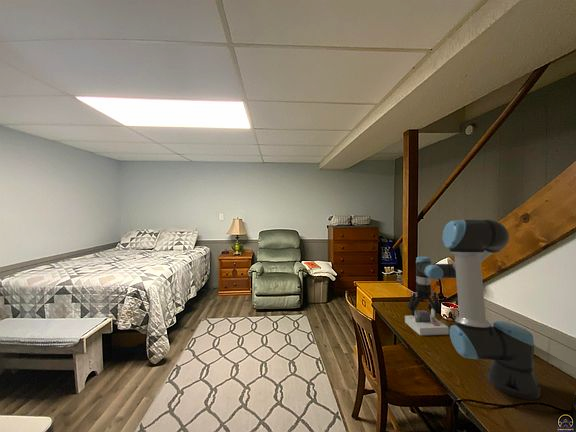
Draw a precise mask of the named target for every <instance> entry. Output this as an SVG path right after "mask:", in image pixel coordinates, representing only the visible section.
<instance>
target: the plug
mask: <svg viewBox="0 0 576 432" xmlns="http://www.w3.org/2000/svg"><path fill="white" fill-rule="evenodd" d="M416 315H417V322H419V323H422V322H430V315H431V312H429V311H427V310H425V309H422V310H421V309H420V310H419V309H417V310H416Z"/></svg>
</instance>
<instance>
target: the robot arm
mask: <svg viewBox="0 0 576 432" xmlns="http://www.w3.org/2000/svg"><path fill="white" fill-rule="evenodd" d="M509 241H510V232H509V231H508V229H507V227H506V226H505V225H504V224H502V223H501V222H499V221H497V220H493V219H456V220H455V219H454V220H450V221H448V223H446V224H445V226H444V228H443V231H442V243H443V245H444V246H445V248H446V249H449V253H450V254H451V255H452V256H453V257H454V261H453V262H452V263H432V259H431V258H430V257H429V256H417V257H415V259H416V260H415V272H416V273H415V277H416V278H415V279H416V280H415V282H416V287H415V289H416V292H413V291H411V292H410V298H409V302H408V305H407V309H409V310H410V316H412V319H413V320H414V321H415V322H416V315H417V310H416V309H417V307H418V306H419V304H420V302H422V301H424V300H427V301H428V303H429V305H430V306H431V310H430V315H431V320H432V321H434V322H435V318H436V316H437V312H438V310H440V309H441V307H440V304H439V301H438V298H437V293H436V291H432V280H435V281H437V280H438V281H439V280H440V279H455V280H456V291H457V294H456V295H457V304H458V316H457V317H455V319H454V323H455V324H452V325H451V326H450V327H449V337H450V341H451V343H452V345H453V347H454V349H455V351H456V353H458V355H460V356H461V357H463V358H465V359H470V360H471V359H473V360H489V361H490V360H492V361H491V363H490V366H489V368H488V370H487V380H488V382H489V383H490V385H492V386H493V387H495V388H496V389H498V390H500V391H501V392H503V393H505V394H507V395H509V396H512V397H515V398H517V399H518V398H519V399H523V400H527V401H528V400H529V401H530V400H532V401H533V400H537V399H539V398H540V397H541V387H540V385H539V383H538V380H537V378H536V375H535V372H534V371H535V370H534V369H535V368H534V367H535V366H534V365H535V364H534V363H535V361H534V353H535V352H534V351H535V342H534V341H535V340H534V335H533V333H531V332H530V331H529V330H528V329H526V328H524V327H521V326H519V325H517V324H515V323H510V322H507V321H504V320H503V321H501V320H494V322H493V323H490V321H489V320H487V317H486V306H485V295H484V284H483V283H484V282H483V273H482V262H483V261H485V260H486V259H487V258H488V257H489V256H491V255H493V254H497V253H499V252H500V251H502V250H503V249H504V248H506V246H507V245H508V243H509Z"/></svg>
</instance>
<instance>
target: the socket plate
mask: <svg viewBox="0 0 576 432" xmlns="http://www.w3.org/2000/svg"><path fill="white" fill-rule="evenodd" d="M404 322H405V324H406V325H408V326H409V327H410V328H411V329H412V330H413V331H414V332H416V334H418V335H419V336H440V335H441V336H443V335H445V336H446V335H450V333H449V330H450V327H449V326H448V325H446V324H445V323H443V322H442V321H440V320H439V319H437V318H436V317H435V322H434V321H432V320H431V314H430V322H422V323H419V322H417V314H416V322H415V321H414V320H413V319H412V315H404Z"/></svg>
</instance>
